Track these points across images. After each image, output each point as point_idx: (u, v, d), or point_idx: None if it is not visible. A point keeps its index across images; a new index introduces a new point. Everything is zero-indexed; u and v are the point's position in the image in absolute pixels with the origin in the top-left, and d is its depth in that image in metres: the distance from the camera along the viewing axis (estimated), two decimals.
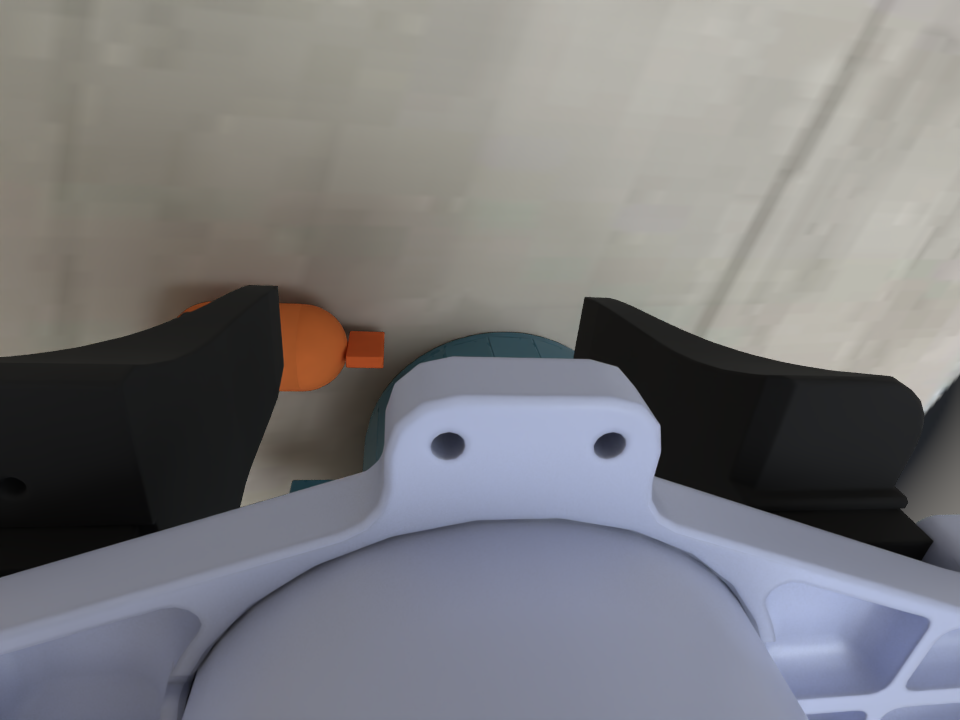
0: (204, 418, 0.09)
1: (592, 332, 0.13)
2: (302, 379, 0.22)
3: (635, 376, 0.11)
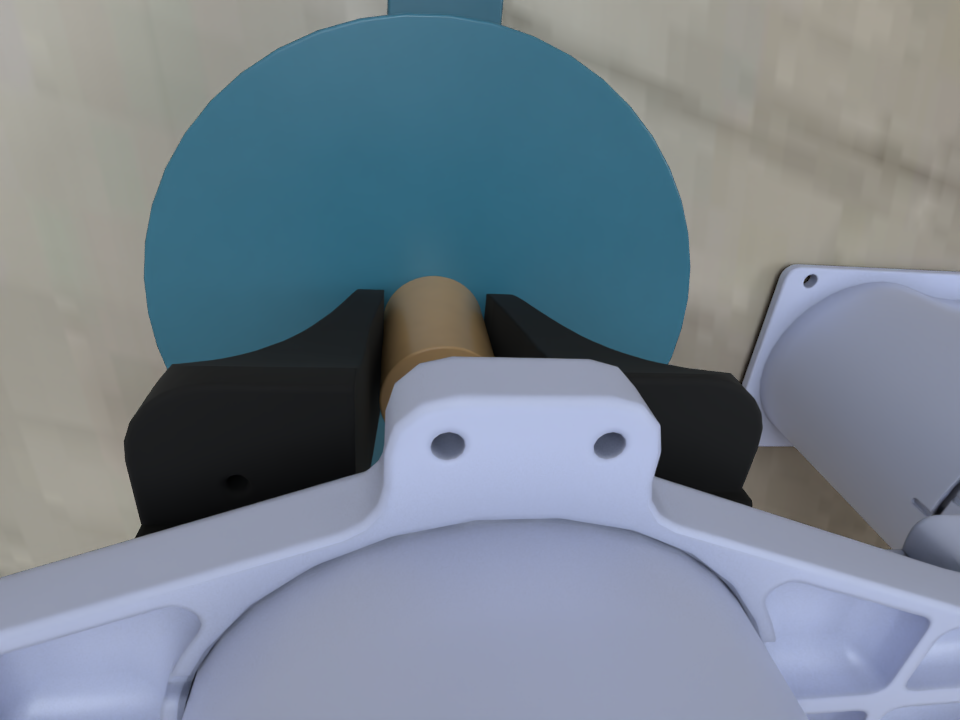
0: (365, 418, 0.09)
1: (490, 329, 0.13)
2: None
3: None
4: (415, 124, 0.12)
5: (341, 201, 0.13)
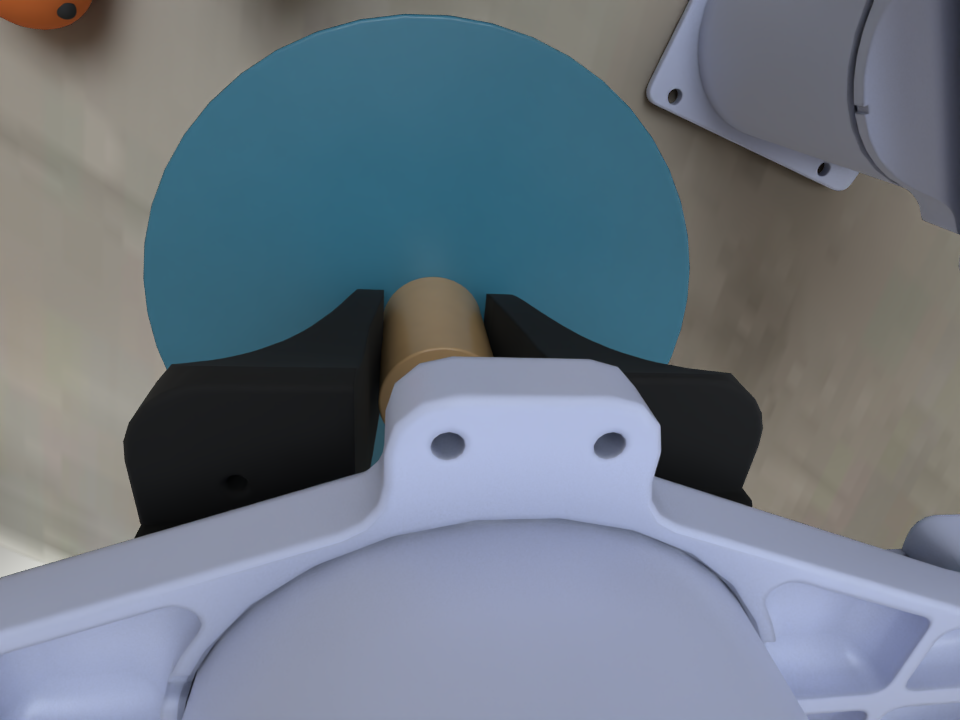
0: (364, 419, 0.09)
1: (490, 329, 0.13)
2: None
3: None
4: (414, 125, 0.12)
5: (340, 202, 0.13)
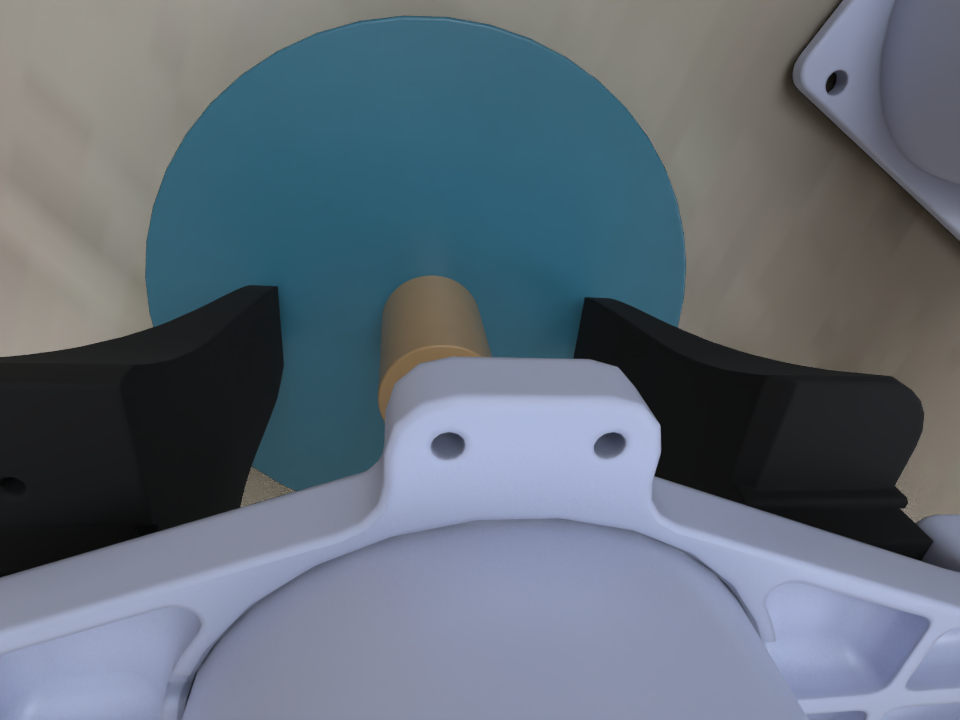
0: (205, 418, 0.09)
1: (592, 332, 0.13)
2: None
3: (635, 376, 0.11)
4: (413, 125, 0.12)
5: (340, 201, 0.13)
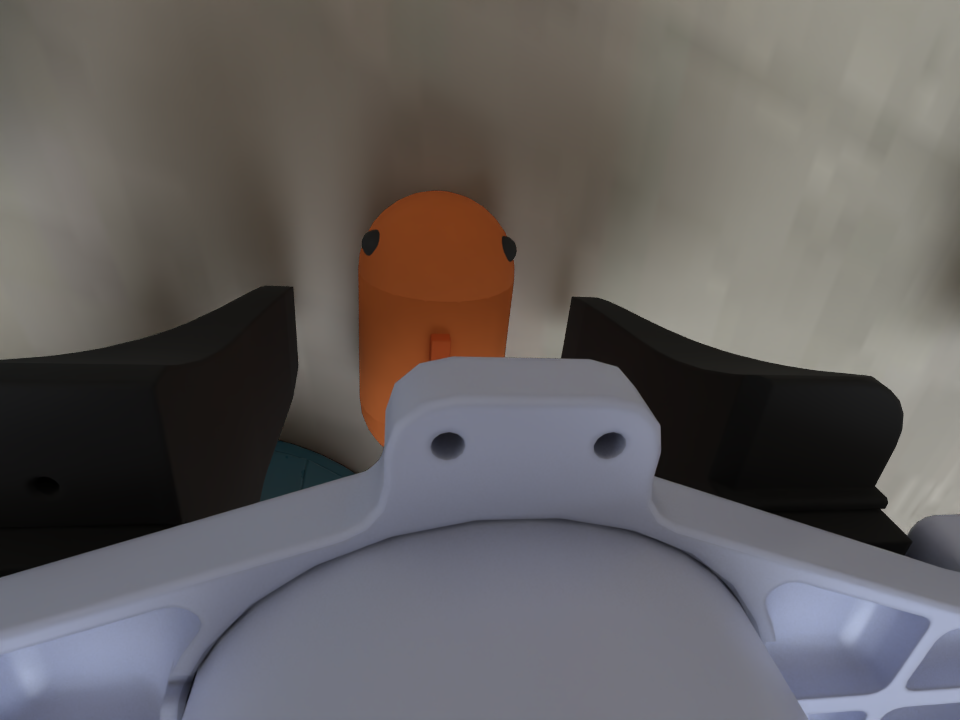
0: (228, 418, 0.09)
1: (579, 332, 0.13)
2: None
3: None
4: None
5: None
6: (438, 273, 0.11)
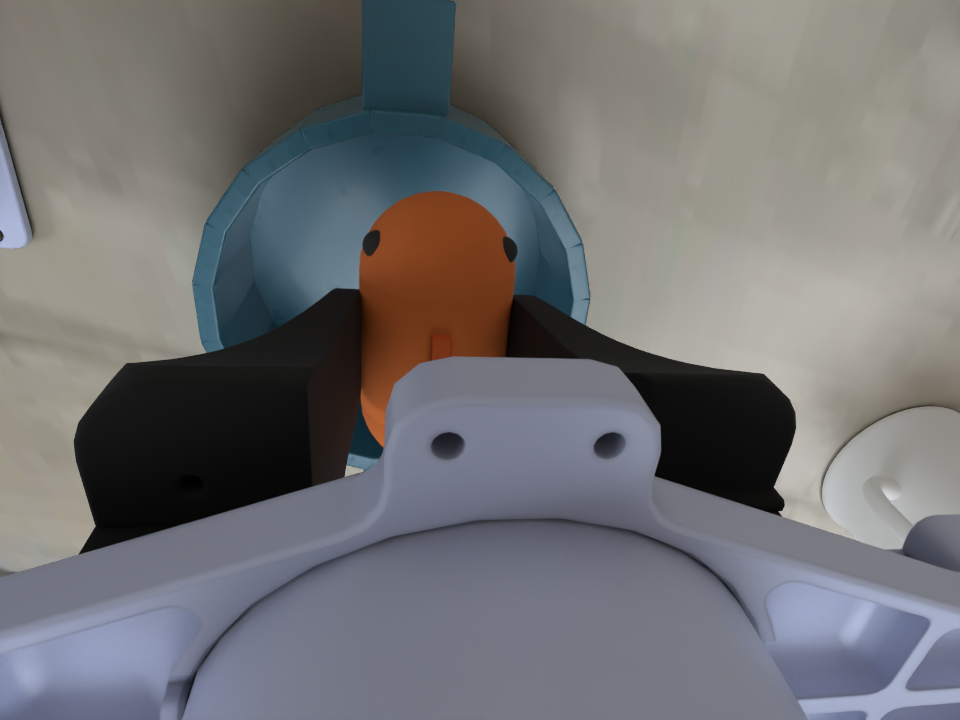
0: (331, 419, 0.09)
1: (511, 330, 0.13)
2: None
3: None
4: None
5: None
6: (439, 273, 0.11)
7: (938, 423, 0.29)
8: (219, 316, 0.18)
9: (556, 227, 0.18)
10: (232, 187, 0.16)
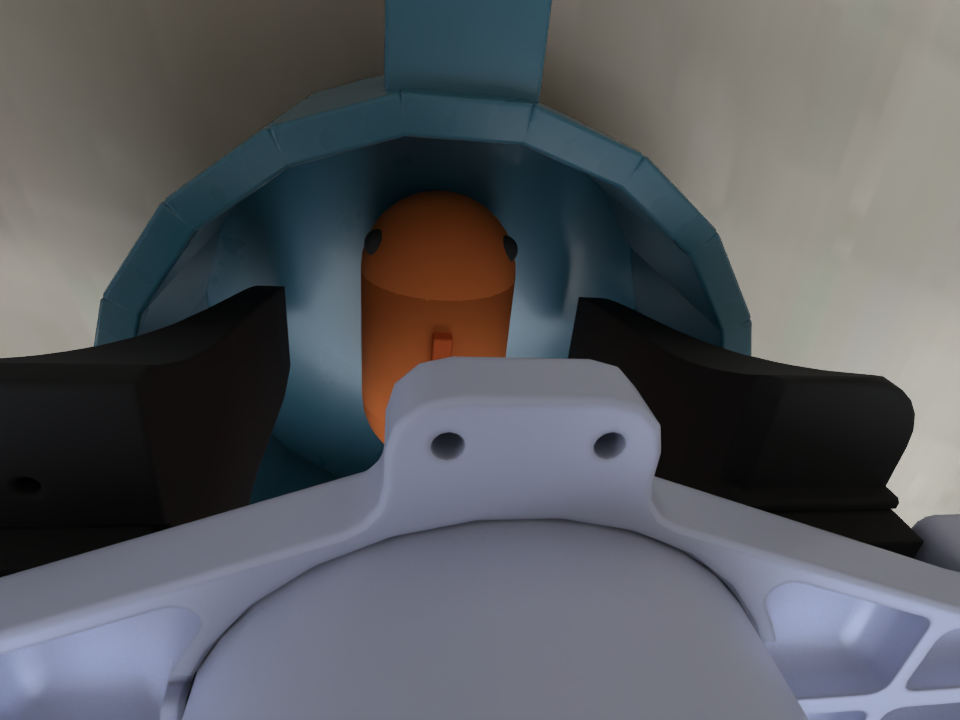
0: (215, 418, 0.09)
1: (586, 332, 0.13)
2: None
3: (628, 376, 0.11)
4: None
5: None
6: (440, 272, 0.11)
7: None
8: None
9: (712, 295, 0.10)
10: (146, 236, 0.09)
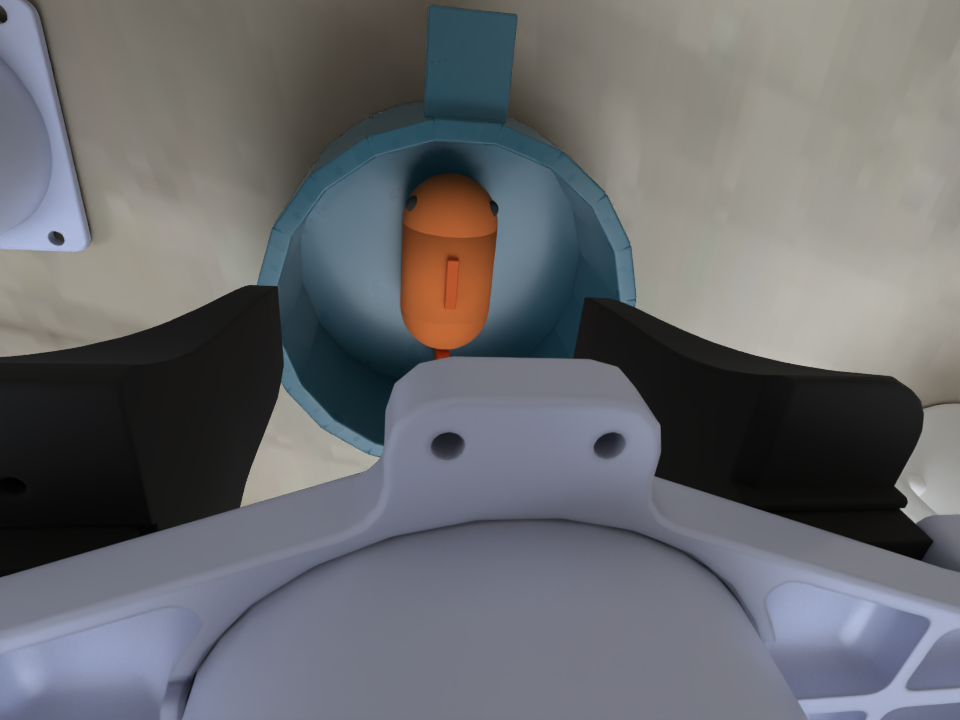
0: (205, 418, 0.09)
1: (592, 332, 0.13)
2: (434, 326, 0.21)
3: (635, 376, 0.11)
4: None
5: None
6: (452, 220, 0.19)
7: None
8: (280, 317, 0.19)
9: (606, 230, 0.18)
10: (300, 193, 0.17)
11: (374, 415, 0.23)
